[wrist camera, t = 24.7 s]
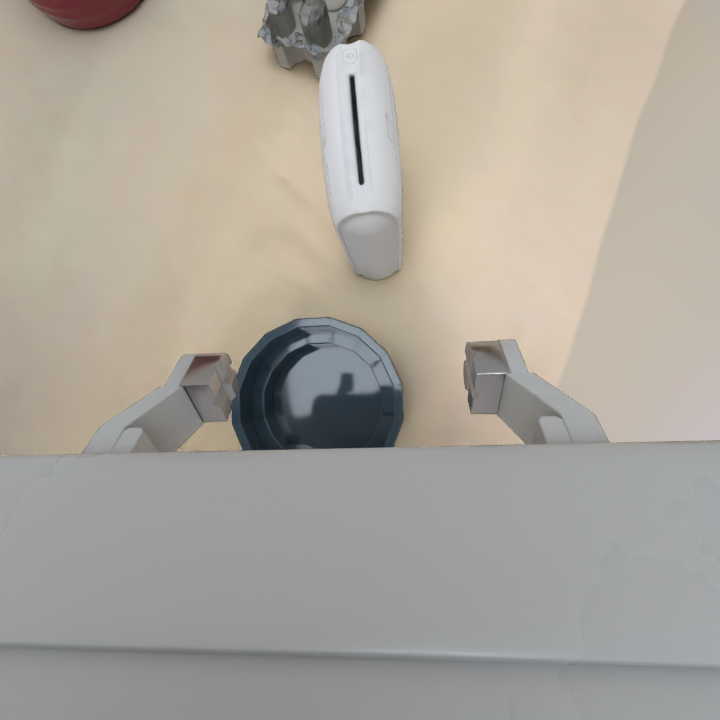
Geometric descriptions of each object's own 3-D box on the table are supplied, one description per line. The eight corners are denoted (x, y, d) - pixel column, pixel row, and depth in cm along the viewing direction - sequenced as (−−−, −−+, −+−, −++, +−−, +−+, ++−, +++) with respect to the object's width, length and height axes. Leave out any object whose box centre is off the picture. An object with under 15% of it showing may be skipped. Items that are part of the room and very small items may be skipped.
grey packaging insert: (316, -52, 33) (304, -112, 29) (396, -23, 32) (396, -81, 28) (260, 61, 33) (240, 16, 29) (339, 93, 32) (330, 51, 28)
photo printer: (341, 159, 32) (303, 22, 20) (394, 151, 32) (388, 7, 19) (351, 284, 32) (319, 222, 19) (405, 278, 31) (408, 211, 19)
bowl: (259, 475, 32) (232, 493, 27) (256, 331, 32) (229, 322, 27) (405, 474, 30) (406, 492, 25) (399, 323, 31) (399, 313, 26)
